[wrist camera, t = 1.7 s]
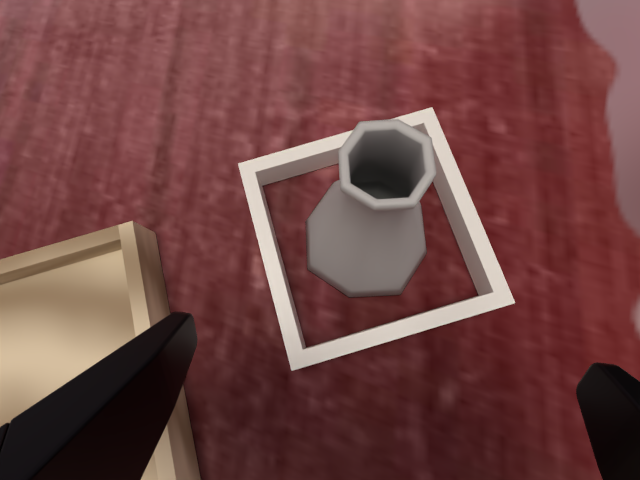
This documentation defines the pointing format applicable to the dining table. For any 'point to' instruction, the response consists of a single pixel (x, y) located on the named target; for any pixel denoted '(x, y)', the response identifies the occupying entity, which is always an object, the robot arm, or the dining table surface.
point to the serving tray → (85, 324)
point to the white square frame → (457, 212)
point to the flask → (373, 211)
